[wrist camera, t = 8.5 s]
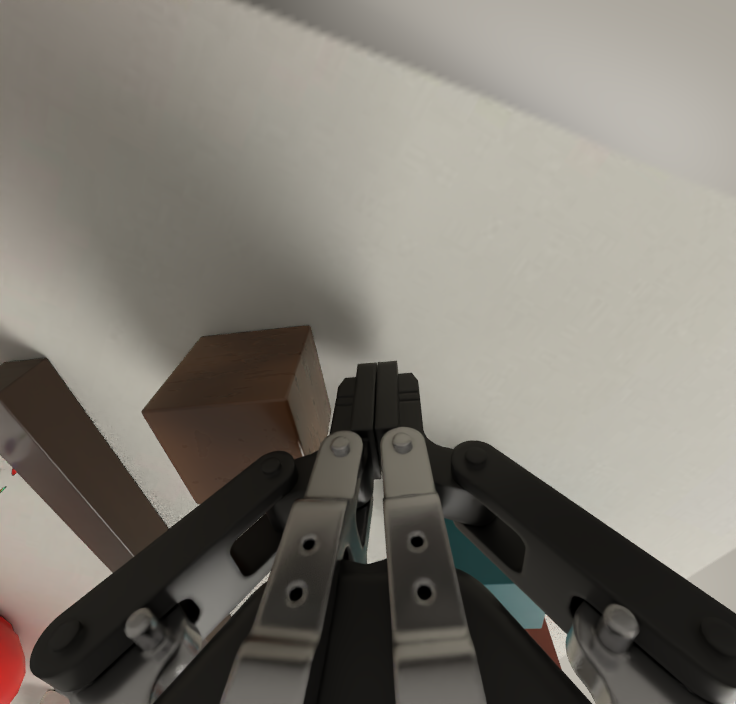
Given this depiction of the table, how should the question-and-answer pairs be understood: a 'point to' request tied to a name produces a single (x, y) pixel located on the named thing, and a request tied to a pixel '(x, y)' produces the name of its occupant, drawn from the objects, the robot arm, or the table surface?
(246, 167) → the table surface
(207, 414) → the block walnut
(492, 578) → the block teal
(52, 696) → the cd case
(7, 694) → the teapot
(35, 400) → the rail
